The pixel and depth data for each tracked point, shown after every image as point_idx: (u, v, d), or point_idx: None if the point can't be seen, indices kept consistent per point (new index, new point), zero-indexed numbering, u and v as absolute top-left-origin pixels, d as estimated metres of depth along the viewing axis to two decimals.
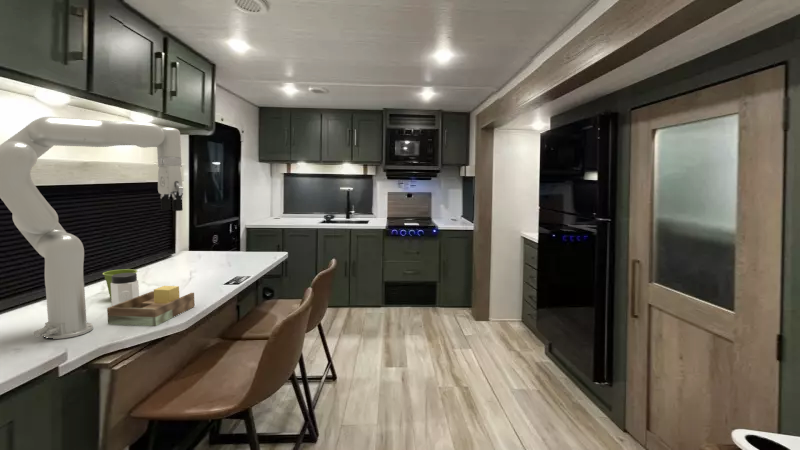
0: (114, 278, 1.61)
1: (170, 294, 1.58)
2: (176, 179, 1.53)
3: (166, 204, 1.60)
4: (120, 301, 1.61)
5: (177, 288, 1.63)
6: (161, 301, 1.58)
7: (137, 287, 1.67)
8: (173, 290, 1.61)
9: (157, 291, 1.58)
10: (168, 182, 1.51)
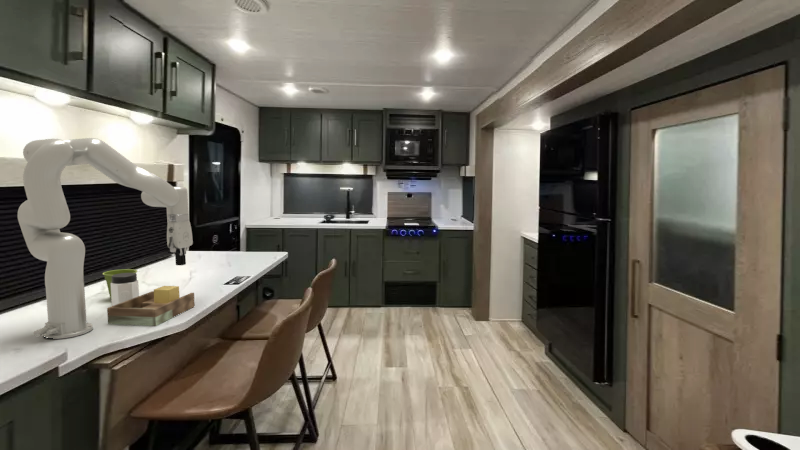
0: (114, 278, 1.61)
1: (170, 294, 1.58)
2: None
3: None
4: (120, 301, 1.61)
5: (177, 288, 1.63)
6: (161, 301, 1.58)
7: (137, 287, 1.67)
8: (173, 290, 1.61)
9: (157, 291, 1.58)
10: (191, 235, 1.72)
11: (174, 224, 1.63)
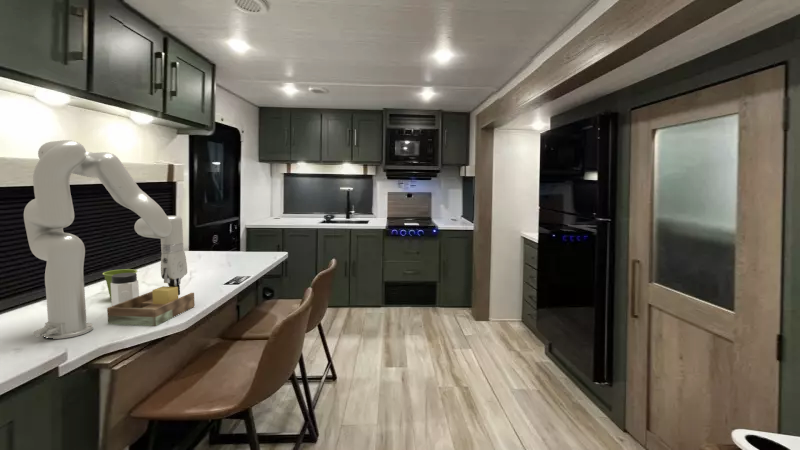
0: (114, 278, 1.61)
1: (169, 295, 1.58)
2: None
3: None
4: (120, 301, 1.61)
5: (176, 289, 1.62)
6: (160, 302, 1.58)
7: (137, 287, 1.67)
8: (172, 290, 1.60)
9: (156, 292, 1.57)
10: (186, 264, 1.69)
11: (168, 255, 1.60)
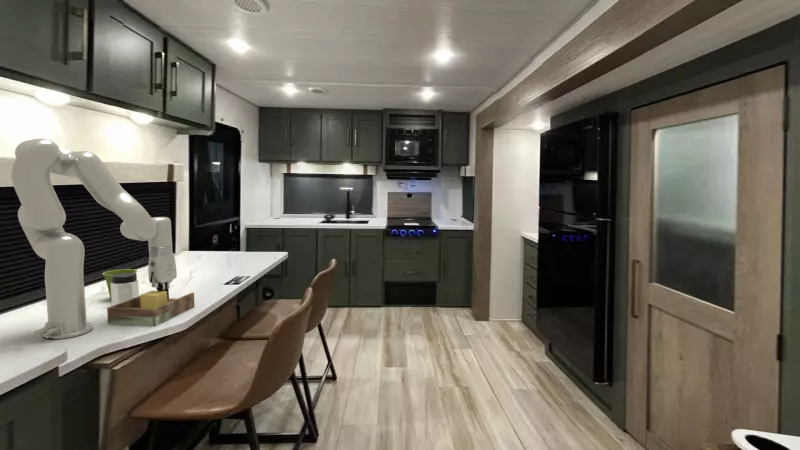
0: (114, 278, 1.61)
1: (157, 300, 1.51)
2: None
3: None
4: (120, 301, 1.61)
5: (165, 293, 1.55)
6: (148, 307, 1.51)
7: (137, 287, 1.67)
8: (161, 295, 1.53)
9: (144, 297, 1.50)
10: (175, 267, 1.62)
11: (156, 258, 1.53)
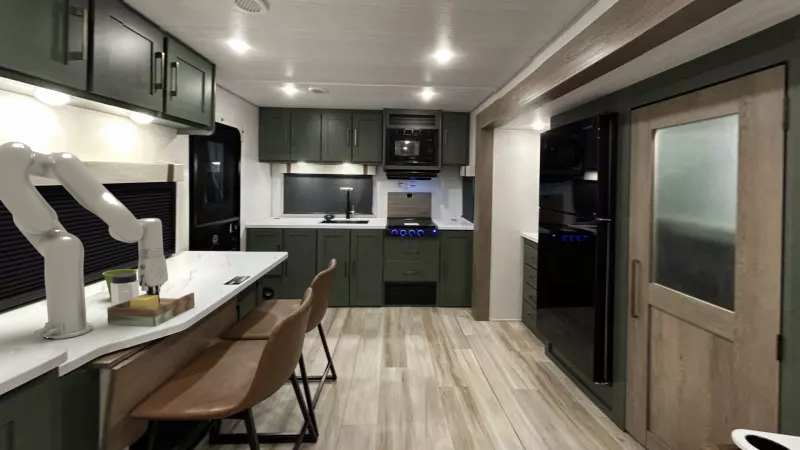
0: (114, 278, 1.61)
1: (148, 304, 1.45)
2: None
3: None
4: (120, 301, 1.61)
5: (156, 297, 1.50)
6: None
7: (137, 287, 1.67)
8: (152, 299, 1.48)
9: (134, 301, 1.45)
10: (166, 270, 1.57)
11: (146, 260, 1.48)
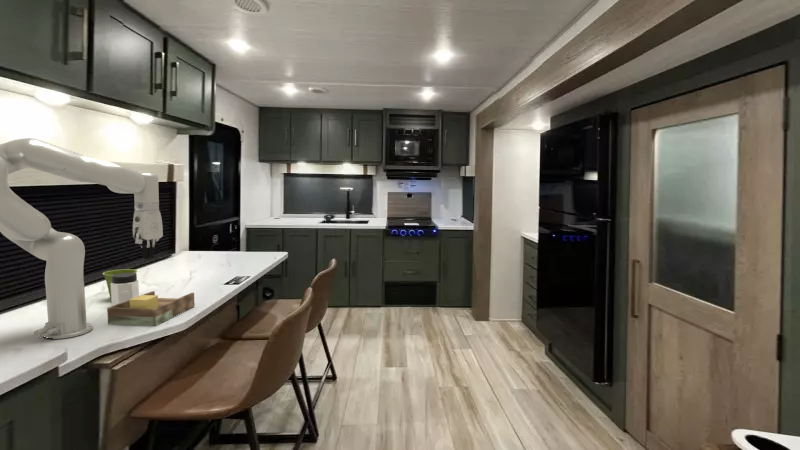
0: (114, 278, 1.61)
1: (147, 304, 1.45)
2: None
3: None
4: (120, 301, 1.61)
5: (156, 297, 1.49)
6: None
7: (137, 287, 1.67)
8: (151, 299, 1.47)
9: (133, 301, 1.45)
10: (162, 226, 1.59)
11: (141, 213, 1.50)
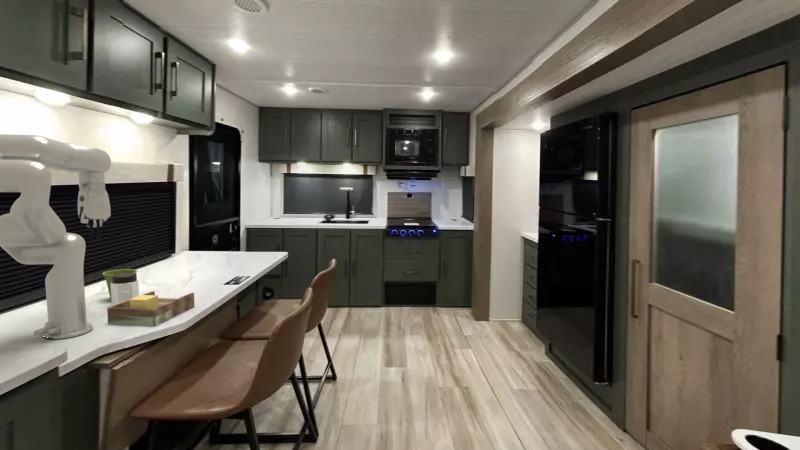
0: (114, 278, 1.61)
1: (147, 304, 1.45)
2: None
3: None
4: (120, 301, 1.61)
5: (156, 297, 1.49)
6: None
7: (137, 287, 1.67)
8: (151, 299, 1.47)
9: (133, 301, 1.45)
10: (109, 206, 1.59)
11: (85, 192, 1.49)
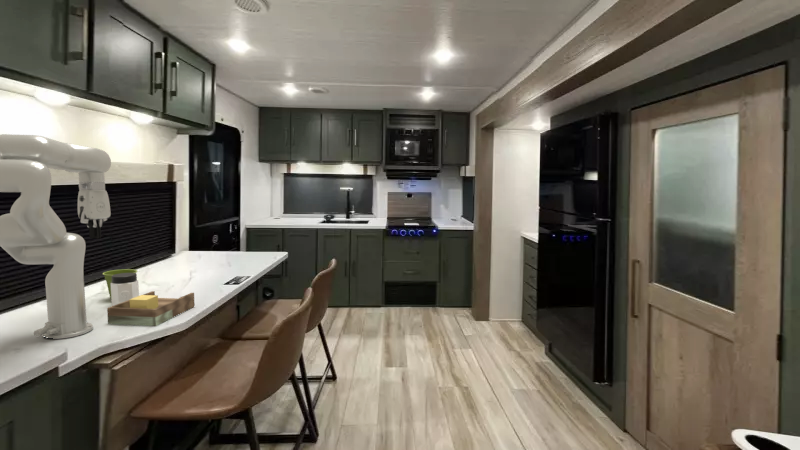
0: (114, 278, 1.61)
1: (147, 304, 1.45)
2: None
3: None
4: (120, 301, 1.61)
5: (156, 297, 1.49)
6: None
7: (137, 287, 1.67)
8: (151, 299, 1.47)
9: (133, 301, 1.45)
10: (109, 206, 1.59)
11: (85, 192, 1.49)
